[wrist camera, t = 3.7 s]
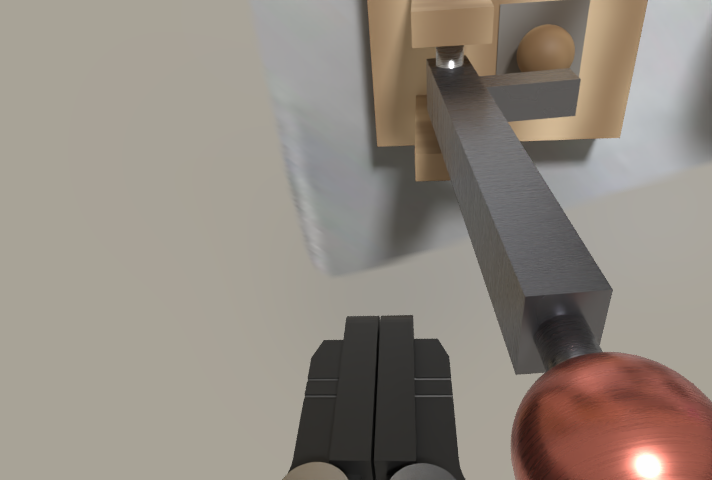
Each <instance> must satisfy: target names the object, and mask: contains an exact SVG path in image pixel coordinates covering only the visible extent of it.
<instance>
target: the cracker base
mask: <svg viewBox="0 0 712 480" xmlns="http://www.w3.org/2000/svg"><path fill="white" fill-rule="evenodd" d="M647 2H648V0H367V5H368V19H369V34H370V48H371V62H372V77H373V91H374V106H375V120H376V134H377V147H381V146H408V145H415V180H416V181H445V180H451V179H450V176H449V173H448V170H447V167H446V164H445V161H444V158H443V155H442V152H441V150H440V147H439V144H438V141H437V138H436V135H435V132H434V129H433V126H432V123H431V120H430V117H429V114H428V111H427V70H426V59H431V58H436V47H441V46H458V45H464V55H466V56H467V58H468V59H469V61H470V62H471V64H472V66H473V67H474V69H475V70H476V72H477V74H478V75H479V76H488V75H499V74H510V73H521V72H532V71H543V70H554V69H565V68H570V69H571V70H572V71H573V72H574V73H575V74H576V75H577V76H578V77H579V78H580V79H581V82H580V88H579V95H578V101H577V108H576V115H575V116H570V117H558V118H547V119H536V120H524V121H513V122H508V123H509V125H510V126H511V128H512V130H513V131H514V133H515V134H516V136H517V138H518V139H519V141H542V140H569V139H596V138H620V134H621V129H622V124H623V119H624V115H625V110H626V105H627V100H628V95H629V90H630V85H631V80H632V76H633V71H634V66H635V61H636V56H637V51H638V46H639V41H640V37H641V32H642V27H643V22H644V17H645V12H646V7H647Z"/></svg>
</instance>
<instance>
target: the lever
mask: <svg viewBox="0 0 712 480" xmlns="http://www.w3.org/2000/svg"><path fill="white" fill-rule="evenodd" d="M426 70H427V111H428V114H429V117H430V120H431V123H432V126H433V129H434V132H435V135H436V138H437V141H438V144H439V147H440V150H441V152H442V155H443V158H444V161H445V164H446V167H447V170H448V173H449V176H450V179H451V182H452V185H453V188H454V191H455V194H456V197H457V200H458V203H459V206H460V209H461V212H462V215H463V218H464V221H465V224H466V227H467V230H468V233H469V236H470V239H471V242H472V245H473V248H474V251H475V254H476V257H477V260H478V263H479V266H480V269H481V272H482V275H483V278H484V281H485V284H486V287H487V290H488V293H489V296H490V299H491V302H492V305H493V308H494V311H495V314H496V317H497V320H498V323H499V326H500V329H501V332H502V335H503V338H504V341H505V344H506V347H507V350H508V353H509V356H510V358H511V362H512V364H513V368H514V371H515V374H516V375H517V374H531V373H544V372H546V373H544V374H543V375H542V376H541V377H540V378H539V379H538V380H537V381H536V382H535V383H534V384H533V385H532V386H531V388H530V389H529V390H528V392H527V393H526V395H525V396H524V398H523V400H522V402H521V404H520V406H519V408H518V410H517V413H516V416H515V419H514V423H513V428H512V434H511V460H512V465H513V469H514V475H515V479H516V480H712V402H711V401H710V399H708V397H706V396H705V395H704V394H703V393H702V392H701V391H700V390H699V389H698V388H697V387H696V386H695V385H694V384H693V383H691V382H690V381H689V380H687V379H686V378H685V377H683V376H682V375H680V374H679V373H677V372H676V371H674V370H672V369H670V368H668V367H666V366H664V365H662V364H660V363H658V362H655V361H653V360H649V359H647V358H644V357H640V356H637V355H631V354H625V353H618V352H602V350H601V348H600V346H599V345H600V341H601V337H602V333H603V329H604V324H605V320H606V316H607V312H608V307H609V303H610V299H611V295H612V291H613V290H612V288H611V286H610V285H609V283H608V281H607V280H606V278H605V277H604V275H603V274H602V272H601V270H600V269H599V267H598V266H597V264H596V262H595V261H594V259H593V257H592V256H591V254H590V253H589V251H588V250H587V248H586V247H585V245H584V243H583V241H582V240H581V238H580V237H579V235H578V234H577V232H576V230H575V229H574V227H573V225H572V224H571V222H570V221H569V219H568V218H567V216H566V214H565V213H564V211H563V209H562V208H561V206H560V205H559V203H558V201H557V200H556V198H555V197H554V195H553V193H552V192H551V190H550V189H549V187H548V185H547V184H546V182H545V181H544V179H543V178H542V176H541V174H540V173H539V171H538V170H537V168H536V166H535V165H534V163H533V162H532V160H531V158H530V157H529V155H528V154H527V152H526V150H525V149H524V147H523V146H522V144H521V142H520V141H519V139H518V138H517V136H516V134H515V133H514V131H513V130H512V128H511V126H510V125H509V123H508V122H513V121H524V120H536V119H547V118H558V117H570V116H575V115H576V108H577V101H578V95H579V88H580V82H581V79H580V78H579V77H578V76H577V75H576V74H575V73H574V72H573V71H572V70H571V69H570V68H565V69H554V70H543V71H532V72H521V73H510V74H499V75H488V76H479V75H478V74H477V72H476V70H475V69H474V67H473V66H472V64H471V62H470V61H469V59H468V58H467V56H466V55H464V45H458V46H441V47H436V58H431V59H426Z"/></svg>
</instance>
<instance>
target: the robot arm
mask: <svg viewBox="0 0 712 480" xmlns="http://www.w3.org/2000/svg"><path fill="white" fill-rule="evenodd" d="M452 395H453V394H452V383H451V373H450V362H449V356H448V354H447V353H446V351H445V349H444V348H443V346H442V345H441V343H440V342H439V340H438V339H414V329H413V316H412V315H404V316H403V315H402V316H401V315H400V316H381V319H380V317H379V316H350V317H349V316H348V317H347V318H346V325H345V333H344V340H324V341H323V342H322V344H321V345H320V347H319V348H318V349H317V351H316V352H315V354H314V355H313V356H312V358H311V363H310V369H309V374H308V382H307V386H306V391H305V399H304V402H303V408H302V413H301V419H300V424H299V429H298V435H297V441H296V446H295V451H294V458H293V461H292V465H291V467H290V470H289V472H288V474H287V475H286V476H285V477H284V478H283V479H282V480H465V478H464V476H463V474H462V472H461V469H460V465H459V457H458V447H457V437H456V426H455V417H454V416H455V415H454V404H453V396H452Z"/></svg>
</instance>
